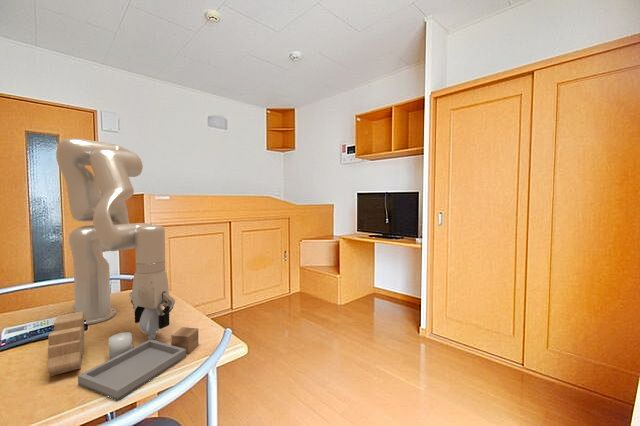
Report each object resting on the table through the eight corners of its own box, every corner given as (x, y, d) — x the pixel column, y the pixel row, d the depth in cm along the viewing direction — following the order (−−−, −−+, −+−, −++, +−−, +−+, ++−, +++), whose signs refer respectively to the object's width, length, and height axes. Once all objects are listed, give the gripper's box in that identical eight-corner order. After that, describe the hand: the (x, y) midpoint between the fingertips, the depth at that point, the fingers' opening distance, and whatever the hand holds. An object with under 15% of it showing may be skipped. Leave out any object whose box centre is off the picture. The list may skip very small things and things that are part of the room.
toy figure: (160, 344, 84) (159, 303, 83) (135, 347, 82) (134, 305, 81) (166, 328, 94) (165, 291, 93) (144, 330, 92) (143, 293, 91)
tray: (78, 385, 66) (77, 375, 65) (150, 346, 82) (150, 339, 82) (117, 401, 61) (117, 390, 61) (186, 357, 78) (186, 349, 77)
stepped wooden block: (47, 383, 66) (46, 340, 65) (58, 350, 80) (57, 314, 79) (79, 375, 69) (78, 334, 68) (84, 344, 83) (83, 310, 82)
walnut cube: (171, 353, 80) (171, 335, 79) (182, 344, 84) (181, 327, 84) (188, 354, 79) (188, 336, 79) (198, 345, 84) (198, 328, 84)
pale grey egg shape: (104, 357, 77) (104, 339, 76) (123, 348, 81) (123, 331, 81) (117, 362, 75) (117, 343, 74) (136, 352, 79) (135, 334, 79)
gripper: (118, 267, 86) (119, 324, 87) (161, 273, 80) (162, 335, 81) (141, 261, 93) (143, 314, 94) (183, 267, 87) (184, 324, 88)
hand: (152, 324), depth 87 cm, fingers open, 9 cm apart
